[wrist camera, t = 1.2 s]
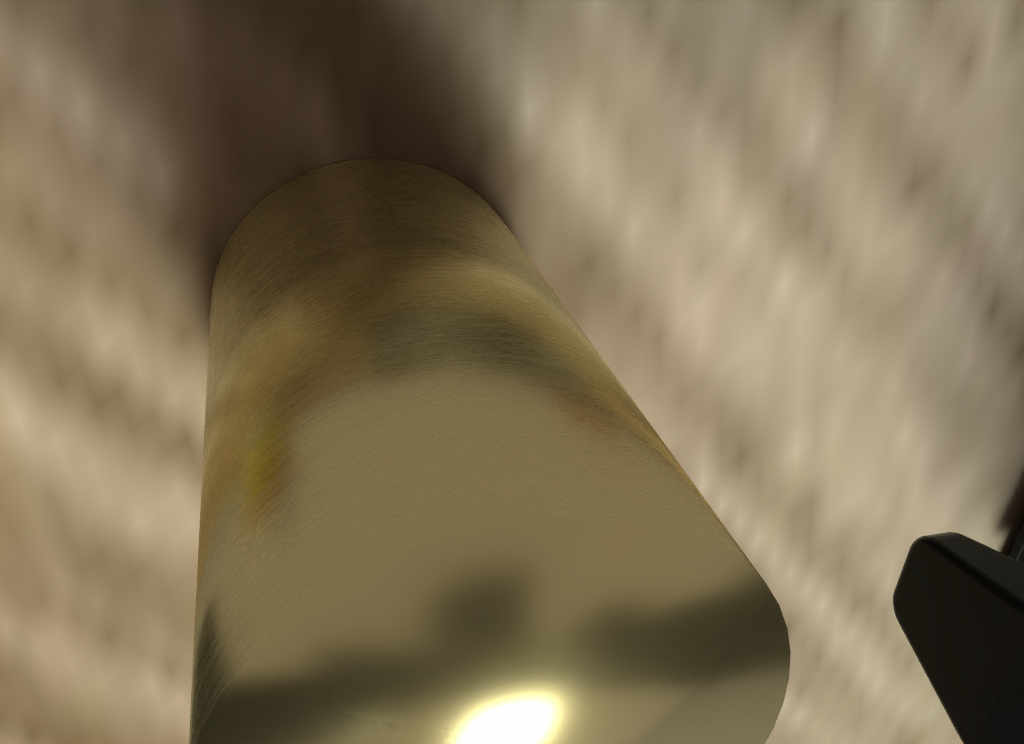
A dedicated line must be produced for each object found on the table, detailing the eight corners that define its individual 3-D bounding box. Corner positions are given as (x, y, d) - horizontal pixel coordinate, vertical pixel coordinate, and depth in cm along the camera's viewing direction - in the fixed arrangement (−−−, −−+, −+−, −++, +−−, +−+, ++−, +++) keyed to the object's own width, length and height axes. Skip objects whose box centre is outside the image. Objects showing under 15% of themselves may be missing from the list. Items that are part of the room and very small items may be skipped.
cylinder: (535, 154, 13) (853, 475, 6) (516, 426, 15) (733, 866, 9) (191, 162, 12) (136, 572, 5) (228, 456, 14) (225, 995, 7)
